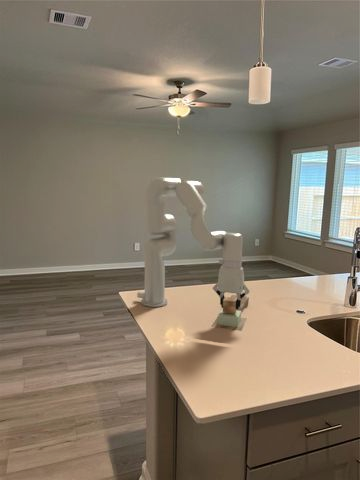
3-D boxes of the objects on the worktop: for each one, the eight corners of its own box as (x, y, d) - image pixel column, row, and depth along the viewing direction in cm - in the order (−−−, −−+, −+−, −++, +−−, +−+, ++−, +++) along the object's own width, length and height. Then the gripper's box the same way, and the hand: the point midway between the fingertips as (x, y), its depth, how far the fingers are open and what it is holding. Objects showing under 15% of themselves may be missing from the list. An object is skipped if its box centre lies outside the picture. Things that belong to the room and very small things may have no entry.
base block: (217, 324, 145) (218, 314, 145) (222, 317, 153) (222, 308, 152) (237, 327, 143) (238, 317, 142) (240, 320, 150) (241, 310, 150)
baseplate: (211, 328, 143) (211, 326, 143) (218, 316, 156) (218, 314, 156) (241, 333, 140) (241, 330, 139) (246, 320, 153) (246, 318, 153)
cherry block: (222, 312, 146) (223, 300, 145) (225, 308, 150) (225, 296, 150) (235, 313, 144) (235, 301, 143) (237, 309, 149) (237, 298, 148)
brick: (240, 316, 158) (241, 306, 157) (222, 314, 161) (222, 303, 160) (248, 305, 173) (249, 296, 172) (231, 303, 176) (232, 294, 176)
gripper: (208, 264, 143) (207, 307, 146) (252, 267, 138) (250, 313, 141) (213, 260, 150) (211, 302, 153) (254, 263, 145) (252, 307, 148)
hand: (230, 307), depth 147 cm, fingers open, 5 cm apart
